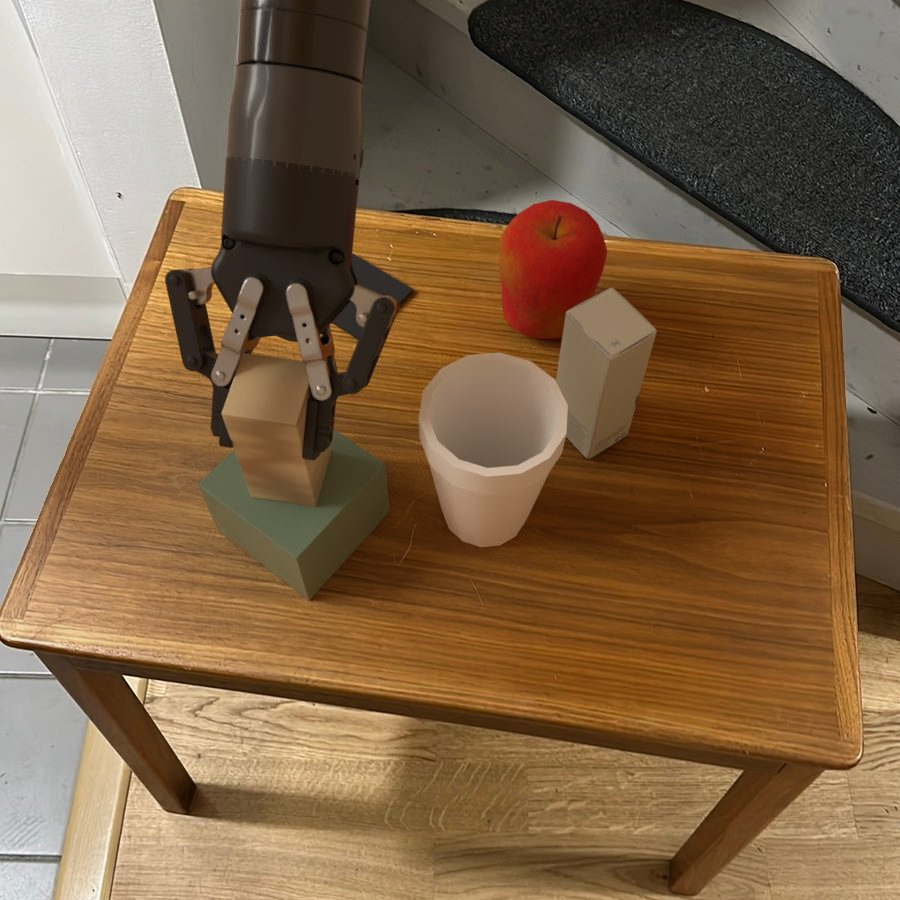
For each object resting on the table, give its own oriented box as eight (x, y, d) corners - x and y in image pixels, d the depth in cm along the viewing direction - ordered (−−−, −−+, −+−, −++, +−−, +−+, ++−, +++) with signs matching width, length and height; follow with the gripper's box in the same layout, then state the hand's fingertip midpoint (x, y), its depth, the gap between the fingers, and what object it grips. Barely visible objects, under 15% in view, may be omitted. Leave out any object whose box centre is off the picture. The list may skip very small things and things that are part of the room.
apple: (502, 273, 82) (511, 168, 72) (597, 288, 81) (619, 184, 71) (485, 348, 77) (492, 248, 67) (585, 365, 76) (607, 265, 66)
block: (250, 497, 62) (220, 413, 53) (268, 441, 64) (242, 352, 55) (316, 507, 61) (296, 424, 53) (331, 450, 64) (315, 362, 55)
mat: (299, 303, 80) (299, 300, 79) (352, 255, 83) (352, 252, 82) (361, 342, 77) (361, 339, 77) (413, 292, 80) (413, 289, 80)
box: (629, 436, 73) (663, 332, 62) (585, 462, 71) (613, 361, 60) (587, 390, 75) (613, 283, 64) (544, 415, 74) (563, 310, 63)
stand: (217, 531, 68) (196, 484, 62) (300, 449, 72) (287, 397, 66) (309, 601, 65) (296, 558, 59) (389, 511, 69) (385, 463, 63)
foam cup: (464, 589, 66) (470, 501, 55) (398, 492, 70) (391, 393, 59) (572, 526, 69) (598, 431, 57) (503, 436, 73) (514, 331, 62)
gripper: (144, 139, 49) (131, 448, 53) (408, 171, 48) (374, 484, 52) (196, 152, 57) (181, 423, 61) (426, 180, 55) (395, 454, 59)
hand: (271, 449), depth 56 cm, fingers closed on block, 4 cm apart
